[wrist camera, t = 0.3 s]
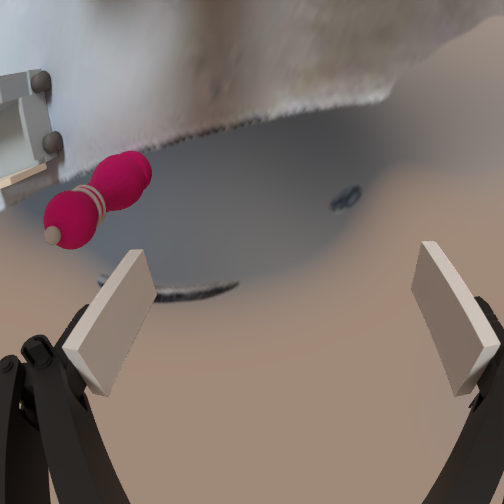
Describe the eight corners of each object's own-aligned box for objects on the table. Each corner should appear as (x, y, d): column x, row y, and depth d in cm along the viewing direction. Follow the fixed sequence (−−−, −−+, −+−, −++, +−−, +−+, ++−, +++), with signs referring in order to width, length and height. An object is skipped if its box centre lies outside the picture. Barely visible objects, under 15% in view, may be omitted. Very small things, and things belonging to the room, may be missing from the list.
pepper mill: (122, 138, 39) (26, 190, 22) (163, 163, 41) (85, 231, 24) (104, 179, 42) (17, 247, 25) (143, 203, 44) (69, 285, 27)
